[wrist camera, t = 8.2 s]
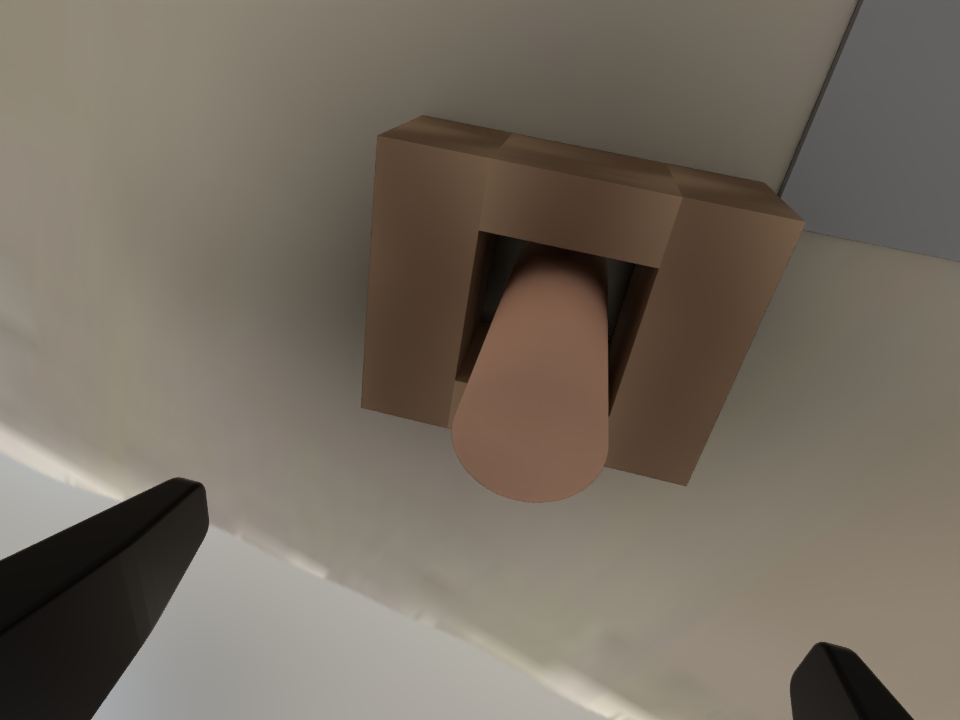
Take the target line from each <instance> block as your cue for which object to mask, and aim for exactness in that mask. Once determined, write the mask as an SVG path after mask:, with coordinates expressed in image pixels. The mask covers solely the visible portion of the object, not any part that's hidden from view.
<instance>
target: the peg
mask: <svg viewBox="0 0 960 720" xmlns="http://www.w3.org/2000/svg"><path fill="white" fill-rule="evenodd" d="M452 440H453V445H454V449H455V452H456V454H457V457H458V458H459V460H460V462H461V464H462V465H463V467H464V468H465V469H466V471H467V472H468V473H469V474H470V475H471V476H472V477H473V478H474V479H475V480H476V481H478V482H479V483H480V484H481V485H483V486H484V487H486V488H487V489H489V490H491V491H493V492H495V493H497V494H499V495H502V496H504V497H507V498H510V499H514V500H518V501H523V502H533V503H543V502H552V501H557V500H562V499H565V498H568V497H570V496H573V495H575V494H577V493H579V492H580V491H582V490H583V489H585V488H586V487H588V486H589V485H590V484H591V483H592V482H593V481H594V480H595V479H596V478H597V477H598V475H599V474H600V472H601V471H602V469H603V467H604V464H605V462H606V459H607V455H608V281H607V266H606V262H605V259H604V257H602V256H597V255H593V254H588V253H583V252H579V251H574V250H569V249H564V248H560V247H555V246H550V245H546V244H541V243H536V242H531V241H529V242H528V243H527V244H526V245H525V246H524V248H523V249H522V250H521V252H520V254H519V255H518V258H517V260H516V263H515V265H514V268H513V270H512V273H511V275H510V278H509V280H508V283H507V285H506V288H505V290H504V293H503V296H502V298H501V301H500V303H499V306H498V308H497V311H496V313H495V316H494V318H493V321H492V323H491V326H490V328H489V331H488V333H487V336H486V338H485V341H484V343H483V346H482V348H481V351H480V354H479V356H478V359H477V361H476V364H475V366H474V369H473V371H472V374H471V376H470V379H469V381H468V384H467V386H466V389H465V391H464V394H463V396H462V399H461V401H460V404H459V406H458V409H457V411H456V414H455V417H454V421H453V425H452Z"/></svg>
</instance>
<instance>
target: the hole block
mask: <svg viewBox="0 0 960 720" xmlns="http://www.w3.org/2000/svg"><path fill="white" fill-rule="evenodd" d="M805 223H806V221H805V220H803V219H802V218H801V217H800V216H799V215H798V214H797V213H796V212H795V211H794V210H793V209H792V208H791V207H789V206H788V205H787V204H786V203H785V202H784V201H783V200H782V199H781V198H780V197H779V196H778V195H777V194H775V193H774V192H773V191H772V190H771V189H770V188H769V187H768V186H767V185H766V184H765V183H763V182H758V181H753V180H748V179H743V178H737V177H732V176H727V175H722V174H717V173H712V172H707V171H702V170H697V169H692V168H687V167H682V166H677V165H671V164H666V163H661V162H656V161H651V160H646V159H641V158H636V157H631V156H626V155H621V154H616V153H611V152H605V151H600V150H595V149H590V148H585V147H580V146H575V145H570V144H565V143H560V142H555V141H550V140H545V139H539V138H534V137H529V136H524V135H519V134H514V133H509V132H504V131H499V130H494V129H489V128H484V127H479V126H473V125H468V124H463V123H458V122H453V121H448V120H443V119H438V118H433V117H428V116H420V117H418V118H416V119H414V120H411V121H409V122H407V123H405V124H402V125H400V126H398V127H395V128H393V129H391V130H389V131H386V132H384V133H382V134H380V135H377V149H376V166H375V182H374V199H373V216H372V232H371V249H370V265H369V282H368V298H367V315H366V331H365V348H364V364H363V381H362V398H361V408H365V409H369V410H374V411H378V412H382V413H386V414H390V415H394V416H398V417H403V418H407V419H411V420H415V421H419V422H423V423H427V424H431V425H436V426H440V427H444V428H448V429H452V425H453V421H454V417H455V414H456V411H457V409H458V406H459V404H460V401H461V399H462V396H463V394H464V391H465V389H466V386H467V384H468V381H469V379H470V376H471V374H472V371H473V369H474V366H475V364H476V361H477V359H478V356H479V354H480V351H481V348H482V346H483V343H484V341H485V338H486V336H487V333H488V331H489V328H490V326H491V324H489V323H484V322H480V321H481V315H482V309H483V304H484V298H485V292H486V286H487V281H488V275H489V269H490V263H491V258H492V252H493V246H494V240H495V235H496V234H498V235H503V236H508V237H513V238H517V239H522V240H527V241H531V242H536V243H541V244H546V245H550V246H555V247H560V248H564V249H569V250H574V251H579V252H583V253H588V254H593V255H597V256H602V257H607V258H612V259H616V260H621V261H626V262H630V263H635V267H634V270H633V274H632V277H631V280H630V283H629V286H628V290H627V293H626V296H625V299H624V303H623V306H622V309H621V312H620V315H619V319H618V322H617V325H616V328H615V332H614V335H613V338H612V341H611V345H610V348H609V351H608V455H607V459H606V462H605V464H604V466H605V467H609V468H613V469H617V470H621V471H626V472H630V473H634V474H638V475H642V476H646V477H650V478H654V479H659V480H663V481H667V482H671V483H675V484H679V485H683V486H687V484H688V482H689V480H690V477H691V475H692V473H693V471H694V468H695V466H696V464H697V462H698V460H699V457H700V455H701V453H702V451H703V449H704V446H705V444H706V442H707V440H708V438H709V435H710V433H711V431H712V429H713V426H714V424H715V422H716V420H717V418H718V415H719V413H720V411H721V409H722V407H723V404H724V402H725V400H726V398H727V395H728V393H729V391H730V389H731V387H732V384H733V382H734V380H735V378H736V376H737V373H738V371H739V369H740V367H741V365H742V362H743V360H744V358H745V356H746V353H747V351H748V349H749V347H750V345H751V342H752V340H753V338H754V336H755V334H756V331H757V329H758V327H759V325H760V322H761V320H762V318H763V316H764V314H765V311H766V309H767V307H768V305H769V303H770V300H771V298H772V296H773V294H774V291H775V289H776V287H777V285H778V283H779V280H780V278H781V276H782V274H783V272H784V269H785V267H786V265H787V263H788V261H789V258H790V256H791V254H792V252H793V249H794V247H795V245H796V243H797V241H798V238H799V236H800V234H801V232H802V230H803V227H804V225H805Z"/></svg>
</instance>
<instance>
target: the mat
mask: <svg viewBox="0 0 960 720" xmlns="http://www.w3.org/2000/svg"><path fill="white" fill-rule="evenodd" d="M778 196H779V197H780V198H781V199H782V200H783V201H784V202H785V203H786V204H787V205H788V206H789V207H791V208H792V209H793V210H794V211H795V212H796V213H797V214H798V215H799V216H800V217H801V218H802V219H803V220H805V221H806V223H805V225H804V227H803V230H804V231H809V232H814V233H819V234H824V235H829V236H834V237H839V238H844V239H849V240H854V241H859V242H863V243H868V244H873V245H878V246H883V247H888V248H893V249H898V250H903V251H908V252H913V253H918V254H923V255H928V256H933V257H938V258H942V259H947V260H952V261H957V262H960V0H859V2H858V4H857V7H856V9H855V12H854V14H853V16H852V19H851V21H850V24H849V26H848V28H847V31H846V33H845V36H844V38H843V40H842V43H841V45H840V48H839V50H838V52H837V55H836V57H835V60H834V62H833V64H832V67H831V69H830V72H829V74H828V76H827V79H826V81H825V84H824V86H823V88H822V91H821V93H820V96H819V98H818V100H817V103H816V105H815V108H814V110H813V112H812V115H811V117H810V120H809V122H808V124H807V127H806V129H805V132H804V134H803V136H802V139H801V141H800V144H799V146H798V148H797V151H796V153H795V156H794V158H793V160H792V163H791V165H790V168H789V170H788V172H787V175H786V177H785V180H784V182H783V184H782V187H781V189H780V192H779V194H778Z"/></svg>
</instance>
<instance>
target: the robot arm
mask: <svg viewBox="0 0 960 720" xmlns="http://www.w3.org/2000/svg"><path fill="white" fill-rule="evenodd" d="M208 527H209V516H208V507H207V499H206V490H205V487H204V486H203V484H202V483H200V482H197V481H193V480H189V479H185V478H180V477H177V478H172V479H170V480H168V481H165V482H163V483H161V484H159V485H157V486H155V487H153V488H151V489H149V490H147V491H145V492H142V493H140V494H138V495H136V496H134V497H132V498H130V499H128V500H126V501H124V502H122V503H119V504H117V505H115V506H113V507H111V508H109V509H107V510H105V511H103V512H101V513H99V514H96V515H94V516H92V517H90V518H88V519H86V520H84V521H82V522H80V523H78V524H76V525H73V526H72V527H69V528H67V529H65V530H63V531H61V532H59V533H57V534H55V535H53V536H50V537H48V538H46V539H44V540H42V541H40V542H38V543H36V544H34V545H32V546H30V547H28V548H25V549H23V550H21V551H19V552H17V553H15V554H13V555H11V556H9V557H7V558H4V559H2V560H0V720H91V719H92V717H93V716H94V714H95V713H96V712H97V710H98V709H99V707H100V706H101V704H102V703H103V701H104V700H105V699H106V697H107V696H108V694H109V693H110V691H111V690H112V689H113V687H114V686H115V684H116V683H117V681H118V680H119V678H120V677H121V676H122V674H123V673H124V671H125V670H126V668H127V667H128V666H129V664H130V663H131V661H132V660H133V658H134V657H135V656H136V654H137V652H138V651H139V650H140V648H141V647H142V645H143V644H144V642H145V641H146V639H147V638H148V636H149V635H150V633H151V632H152V630H153V628H154V627H155V625H156V623H157V622H158V620H159V618H160V617H161V615H162V613H163V611H164V610H165V608H166V606H167V604H168V602H169V601H170V599H171V597H172V595H173V593H174V592H175V590H176V588H177V586H178V585H179V582H180V581H181V579H182V577H183V576H184V574H185V571H186V570H187V568H188V567H189V565H190V563H191V561H192V559H193V558H194V556H195V554H196V552H197V551H198V548H199V547H200V545H201V543H202V542H203V540H204V538H205V536H206V533H207V530H208ZM790 697H791V706H792V716H793V720H914V719H913V718H912V717H911V716H910V715H909V713H908V712H907V711H906V710H905V709H904V708H903V707H902V705H901V704H900V703H899V702H898V701H897V700H896V698H895V697H894V696H893V695H892V694H891V693H890V692H889V690H888V689H887V688H886V687H885V686H884V685H883V684H882V682H881V681H880V680H879V679H878V678H877V677H876V676H875V674H874V673H873V672H872V671H871V670H870V669H869V668H868V666H867V665H866V664H865V663H864V662H863V661H862V660H861V658H860V657H859V656H858V655H857V654H856V653H855V652H853V651H852V650H850V649H848V648H846V647H842V646H838V645H834V644H831V643H827V642H819V643H817V644H815V645H814V646H813V647H812V649H811V650H810V651H809V653H808V654H807V655H806V657H805V658H804V660H803V661H802V662H801V664H800V665H799V666H798V668H797V669H796V670H795V672H794V673H793V676H792V678H791V683H790Z"/></svg>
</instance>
